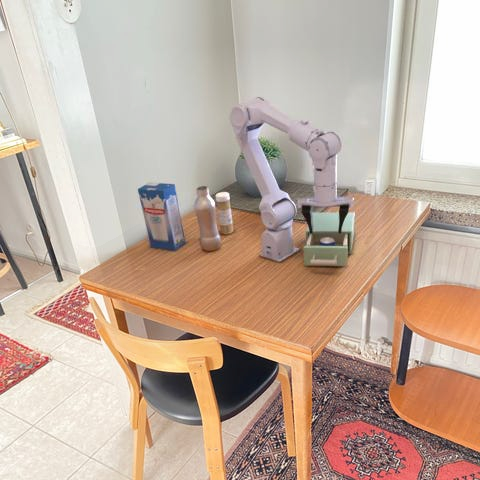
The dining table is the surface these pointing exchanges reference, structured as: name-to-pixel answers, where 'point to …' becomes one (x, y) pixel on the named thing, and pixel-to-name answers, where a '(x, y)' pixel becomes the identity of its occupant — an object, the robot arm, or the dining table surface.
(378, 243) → the dining table surface
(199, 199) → the plastic bottle
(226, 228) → the sprinkles bottle
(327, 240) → the can
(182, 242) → the milk carton
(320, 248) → the drawer
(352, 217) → the cabinet
